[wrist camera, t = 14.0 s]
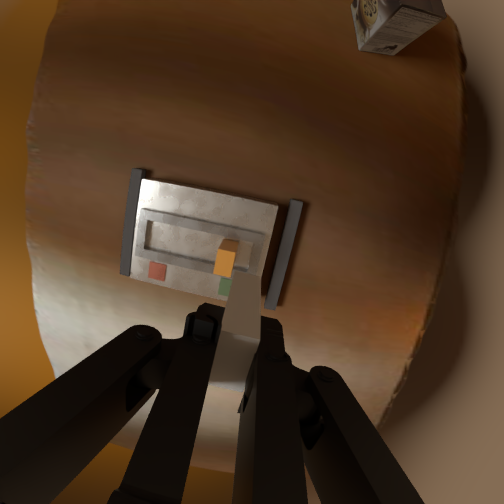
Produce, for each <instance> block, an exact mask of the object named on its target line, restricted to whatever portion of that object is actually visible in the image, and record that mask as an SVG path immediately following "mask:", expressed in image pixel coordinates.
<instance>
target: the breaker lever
mask: <svg viewBox="0 0 504 504" xmlns="http://www.w3.org/2000/svg"><path fill="white" fill-rule="evenodd" d="M238 244H239V242H236V241H232V240H227V239H223V240H222V242H221V244H220V246H219V248H218V251H217V256H216V261H215V267H214V272H213V274H217V275H221V276H226V277H231V274H232V270H233V267H234V263H235V258H236V253H237V249H238Z"/></svg>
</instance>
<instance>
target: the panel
mask: <svg viewBox="0 0 504 504" xmlns="http://www.w3.org/2000/svg"><path fill="white" fill-rule="evenodd" d="M277 210H278V204H277V203H276V202H271V201H267V200H262V199H258V198H253V197H249V196H244V195H239V194H235V193H230V192H225V191H220V190H215V189H210V188H205V187H200V186H195V185H190V184H184V183H179V182H174V181H168V180H162V179H157V178H145V179H142V182H141V189H140V195H139V202H138V209H137V216H136V224H135V232H134V241H133V251H132V262H131V274H130V278H133V279H137V280H141V281H145V282H149V283H153V284H157V285H161V286H165V287H169V288H173V289H177V290H181V291H185V292H189V293H193V294H198V295H202V296H206V297H211V298H215V299H219V300H224V301H227V300H228V296H229V292H230V288H231V284H232V280H233V276H234V272H235V271H239V272H243V273H247V274H251V275H255V276H259V277H262V273H263V269H264V264H265V260H266V256H267V252H268V248H269V244H270V240H271V235H272V231H273V227H274V223H275V218H276V214H277ZM223 239H227V240H232V241H236V242H239V244H238V249H237V253H236V258H235V263H234V267H233V270H232V274H231V277H226V276H221V275H217V274H213V272H214V267H215V261H216V256H217V251H218V248H219V246H220V244H221V242H222V240H223Z"/></svg>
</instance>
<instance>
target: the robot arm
mask: <svg viewBox="0 0 504 504" xmlns="http://www.w3.org/2000/svg"><path fill="white" fill-rule="evenodd" d="M208 384H209V385H213V386H217V387H221V388H225V389H230V390H234V391H239V392H243V390H244V387H245V392H244V395H243V398H242V401H241V404H240V406H239V409H238V412H237V413H240V423H239V433H238V444H237V454H236V464H235V475H234V485H233V496H232V504H308V499H307V489H306V478H305V469H304V463H305V466H306V468H307V471H308V473H309V475H310V478H311V480H312V482H313V485H314V487H315V490H316V492H317V494H318V497H319V499H320V501H321V504H424V502H423V500H422V499H421V497H420V496H419V494H418V492H417V491H416V489H415V488H414V486H413V485H412V483H411V482H410V480H409V479H408V477H407V476H406V474H405V473H404V471H403V470H402V468H401V467H400V465H399V464H398V462H397V460H396V459H395V458H394V456H393V454H392V453H391V451H390V450H389V448H388V447H387V445H386V444H385V442H384V441H383V439H382V438H381V436H380V435H379V433H378V432H377V430H376V428H375V427H374V425H373V424H372V422H371V421H370V419H369V418H368V416H367V415H366V413H365V412H364V410H363V409H362V407H361V406H360V404H359V403H358V401H357V400H356V398H355V397H354V395H353V394H352V392H351V391H350V389H349V388H348V386H347V385H346V383H345V382H344V380H343V379H342V377H341V376H340V375H339V374H338V373H337V372H336V371H335V370H333V369H332V368H329V367H326V366H314V367H313V368H311V370H310V372H307V371H304V370H302V369H299V368H297V367H295V366H294V365H292V361H291V358H290V356H289V355H288V354H287V353H286V352H285V347H284V338H283V329H282V325H281V324H280V322H279V321H278V320H277V319H273V318H269V317H265V316H261V277H259V276H255V275H251V274H247V273H243V272H239V271H235V272H234V276H233V280H232V284H231V288H230V292H229V296H228V300H227V303H226V307H225V308H224V307H220V306H216V305H213V304H209V303H204V304H202V305H200V306H199V307H198V309H197V312H192V313H189V314H188V315H187V317H186V322H185V328H184V334H183V337H181V338H178V339H163V338H162V335H161V333H160V332H159V331H158V330H157V329H155V328H154V327H151V326H148V325H134V326H132V327H130V328H128V329H127V330H125V331H124V332H123V333H121V334H120V335H118V336H117V337H115V338H114V339H113V340H111V341H110V342H108V343H107V344H105V345H104V346H102V347H101V348H100V349H98V350H97V351H95V352H94V353H92V354H91V355H90V356H88V357H87V358H85V359H84V360H82V361H81V362H80V363H78V364H77V365H75V366H74V367H72V368H71V369H70V370H68V371H67V372H65V373H64V374H62V375H61V376H60V377H58V378H57V379H55V380H54V381H53V382H51V383H50V384H48V385H47V386H46V387H44V388H43V389H41V390H40V391H38V392H37V393H36V394H34V395H33V396H31V397H30V398H29V399H27V400H26V401H24V402H23V403H22V404H20V405H19V406H17V407H16V408H14V409H13V410H12V411H10V412H9V413H8V414H6V415H5V416H3V417H2V418H1V419H0V504H50V503H51V501H52V500H54V499H55V498H56V496H58V495H59V493H60V492H61V491H63V489H64V488H65V487H66V486H67V485H68V484H69V483H70V482H71V481H72V480H73V479H74V478H75V477H76V476H77V475H78V474H79V473H80V472H81V471H82V470H83V469H84V468H85V467H86V466H87V465H88V464H89V463H90V461H92V459H93V458H94V457H95V456H96V455H97V454H98V453H99V452H100V451H101V450H102V449H103V448H104V447H105V446H106V445H107V444H108V443H109V442H110V440H111V439H112V438H113V437H114V436H115V435H116V434H117V433H118V432H119V431H120V430H121V429H122V428H123V427H124V426H125V424H126V423H127V422H128V421H129V420H130V419H131V418H132V417H133V416H134V415H135V414H136V413H137V412H138V410H139V409H140V408H141V407H142V406H143V405H144V404H145V403H146V402H147V401H148V400H149V398H150V397H151V396H152V395H153V394H154V393H155V391H156V389H159V392H158V394H157V396H156V399H155V401H154V404H153V406H152V408H151V411H150V413H149V415H148V418H147V420H146V423H145V425H144V428H143V430H142V432H141V435H140V437H139V440H138V442H137V445H136V447H135V450H134V452H133V455H132V457H131V460H130V462H129V465H128V467H127V470H126V472H125V475H124V477H123V480H122V482H121V485H120V487H119V488H118V489H116V490H114V491H113V492H112V494H111V496H110V498H109V500H108V502H107V504H181V501H182V496H183V492H184V487H185V482H186V477H187V474H188V469H189V465H190V460H191V456H192V451H193V447H194V443H195V438H196V434H197V429H198V425H199V421H200V416H201V412H202V408H203V404H204V399H205V395H206V391H207V386H208Z"/></svg>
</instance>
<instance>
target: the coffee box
mask: <svg viewBox="0 0 504 504" xmlns="http://www.w3.org/2000/svg"><path fill="white" fill-rule="evenodd" d="M351 10H352V15H353V20H354V25H355V30H356V36H357V42H358V48H359V50H360V51H367V52H375V53H381V54H387V55H395V54H396V53H398V52H399V51H400V50H402V49H403V48H404V47H406V46H407V45H408V44H410V43H411V42H412V41H414V40H415V39H417V38H418V37H419V36H421V35H422V34H423V33H425V32H426V31H428V30H429V29H431V28H432V27H433V26H435V25H436V24H438V23H439V22H441V21H442V20H443V19H445V18H446V17H447V16H446V13H445V10H444V7H443V4H442V1H441V0H354V1H353V3H352V4H351Z"/></svg>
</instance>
